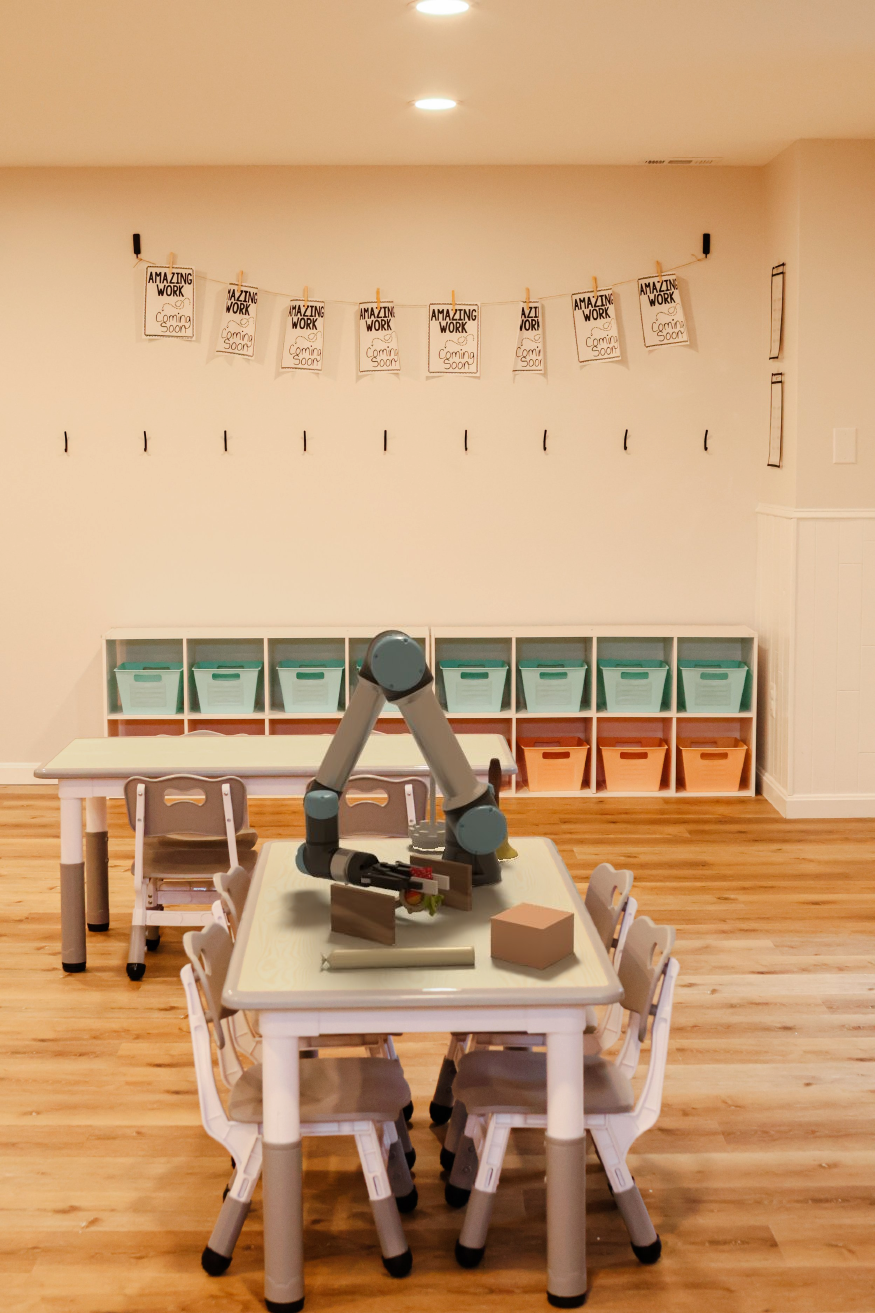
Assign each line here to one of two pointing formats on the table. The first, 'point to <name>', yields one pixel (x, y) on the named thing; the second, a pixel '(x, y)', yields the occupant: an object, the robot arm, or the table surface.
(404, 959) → the tan piece
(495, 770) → the handbell
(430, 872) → the bird rattle
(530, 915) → the terracotta stand
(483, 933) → the table surface
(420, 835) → the flag stand
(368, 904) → the walnut slot
